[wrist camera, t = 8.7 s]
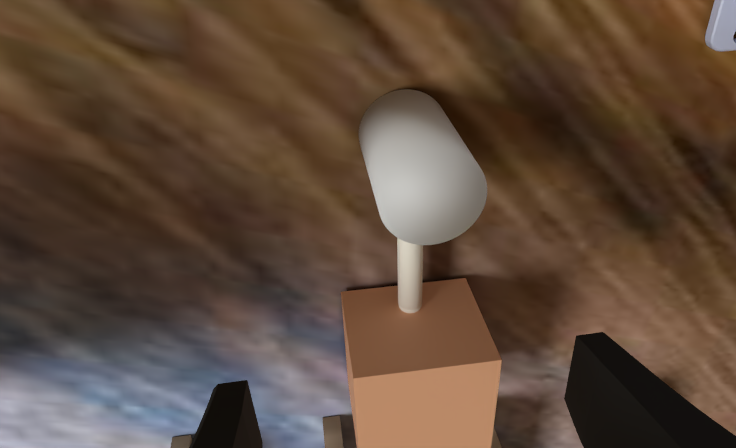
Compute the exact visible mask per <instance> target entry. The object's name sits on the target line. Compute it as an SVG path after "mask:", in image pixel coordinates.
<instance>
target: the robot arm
mask: <svg viewBox="0 0 736 448" xmlns="http://www.w3.org/2000/svg"><path fill="white" fill-rule="evenodd" d="M735 32H736V0H715V2H714V5H713V9H712V13H711V16H710V20H709V24H708V27H707V31H706V35H705V42H706V45H707V46H708V47H710V48H711V49H713V50H716V51H733V50H736V38H735V39H733V36H734V34H735ZM564 399H565V402H566V404H567V407H568V410H569V412H570V415H571V418H572V420H573V423H574V426H575V428H576V431H577V433H578V435H579V438H580V440H581V443H582V445H583V447H584V448H736V436H735V435H733V434H732V433H731V432H729V431H728V430H726V429H725V428H723V427H722V426H721V425H719V424H718V423H716V422H715V421H714V420H712V419H711V418H710V417H708V416H707V415H706V414H704V413H703V412H702V411H700V410H699V409H698V408H696V407H695V406H694V405H692V404H691V403H690V402H688V401H687V400H686V399H685V398H683V397H682V396H681V395H679V394H678V393H677V392H676V391H674V390H673V389H672V388H670V387H669V386H668V385H667V384H665V383H664V382H663V381H662V380H660V379H659V378H658V377H657V376H656V375H654V374H653V373H652V372H651V371H649V370H648V369H647V368H646V367H645V366H643V365H642V364H641V363H640V362H639V361H637V360H636V359H635V358H634V357H633V356H631V355H630V354H629V353H628V352H627V351H625V350H624V349H623V348H622V347H621V346H619V345H618V344H617V343H616V342H614V341H613V340H612V339H611V338H610V337H608V336H607V335H606V334H605V333H603V332H600V333H593V334H586V335H578V336H576V340H575V345H574V351H573V356H572V361H571V367H570V372H569V377H568V382H567V388H566V393H565V398H564ZM189 448H262V439H261V434H260V430H259V426H258V422H257V418H256V414H255V410H254V406H253V402H252V398H251V394H250V390H249V386H248V382H247V380H245V381H237V382H230V383H223V384H218V385H217V386H216V387H215V388H214V389H213V392H212V395H211V398H210V400H209V403H208V405H207V408H206V410H205V413H204V415H203V418H202V420H201V422H200V425H199V427H198V429H197V432H196V434H195V436H194V438H193V440H192V443H191V445H190V447H189Z"/></svg>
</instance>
